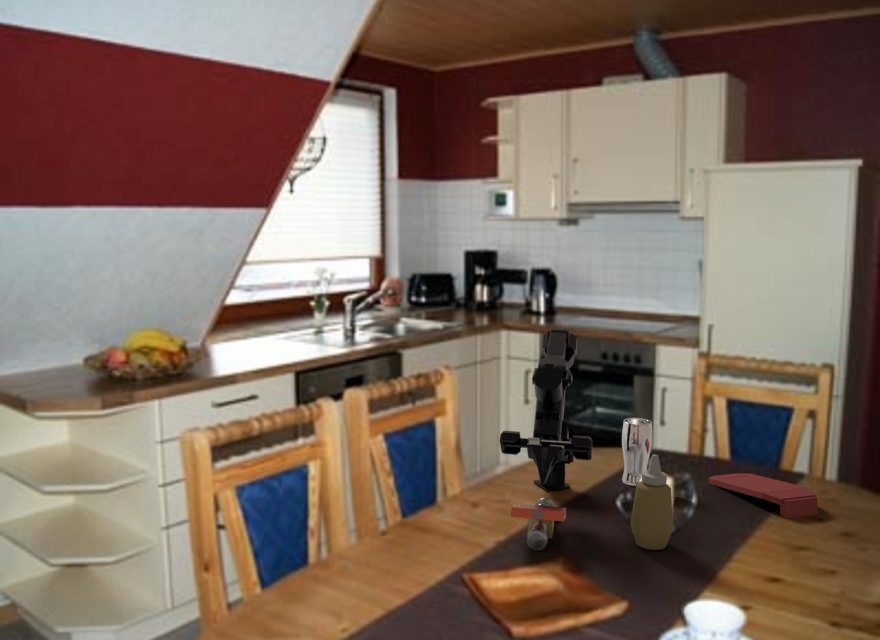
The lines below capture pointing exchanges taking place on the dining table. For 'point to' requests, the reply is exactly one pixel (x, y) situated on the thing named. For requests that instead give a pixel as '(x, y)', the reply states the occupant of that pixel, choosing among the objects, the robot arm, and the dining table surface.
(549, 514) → the valve lever
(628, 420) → the beer glass
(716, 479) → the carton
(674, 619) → the dining table surface
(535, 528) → the valve
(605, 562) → the dining table surface
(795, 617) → the dining table surface
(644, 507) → the squeeze bottle
